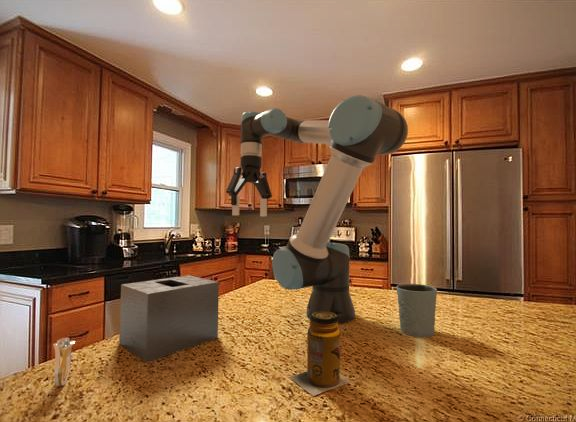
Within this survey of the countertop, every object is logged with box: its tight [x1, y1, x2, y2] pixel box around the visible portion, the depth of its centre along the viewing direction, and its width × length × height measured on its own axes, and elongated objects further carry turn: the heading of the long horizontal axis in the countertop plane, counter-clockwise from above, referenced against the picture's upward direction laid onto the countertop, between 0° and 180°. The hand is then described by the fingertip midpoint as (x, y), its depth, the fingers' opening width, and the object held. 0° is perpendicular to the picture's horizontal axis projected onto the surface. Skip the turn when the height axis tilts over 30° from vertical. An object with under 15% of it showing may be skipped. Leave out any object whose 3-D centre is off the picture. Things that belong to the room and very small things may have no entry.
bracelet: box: [53, 337, 76, 387], centre depth 54 cm, size 7×3×8 cm, turn 22°
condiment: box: [289, 311, 350, 397], centre depth 56 cm, size 7×8×12 cm
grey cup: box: [396, 283, 438, 338], centre depth 83 cm, size 10×10×12 cm
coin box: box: [118, 274, 220, 363], centre depth 74 cm, size 14×18×14 cm
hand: (250, 216), depth 108 cm, fingers open, 13 cm apart
